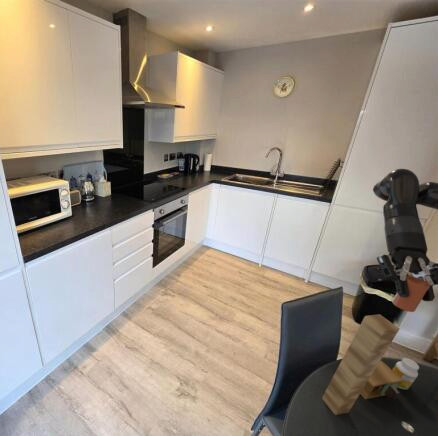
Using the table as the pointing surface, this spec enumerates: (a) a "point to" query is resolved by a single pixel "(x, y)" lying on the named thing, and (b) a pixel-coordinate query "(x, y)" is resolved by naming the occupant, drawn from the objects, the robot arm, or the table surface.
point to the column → (359, 362)
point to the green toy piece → (390, 390)
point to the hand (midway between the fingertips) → (416, 298)
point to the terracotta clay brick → (412, 294)
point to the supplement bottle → (406, 372)
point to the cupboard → (380, 381)
